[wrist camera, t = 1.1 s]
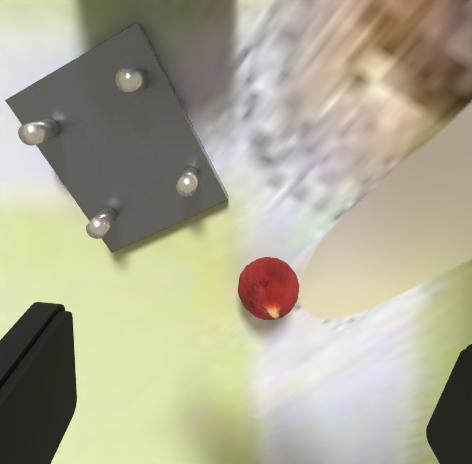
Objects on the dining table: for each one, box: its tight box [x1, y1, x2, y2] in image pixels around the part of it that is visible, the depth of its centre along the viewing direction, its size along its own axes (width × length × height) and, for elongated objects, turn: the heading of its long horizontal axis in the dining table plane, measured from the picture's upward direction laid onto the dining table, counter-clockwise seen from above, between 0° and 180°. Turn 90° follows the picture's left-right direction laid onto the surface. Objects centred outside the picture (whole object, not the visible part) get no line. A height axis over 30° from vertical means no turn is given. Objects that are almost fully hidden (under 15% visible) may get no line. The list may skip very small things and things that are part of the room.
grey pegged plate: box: [5, 23, 228, 252], centre depth 31 cm, size 13×16×5 cm
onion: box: [238, 257, 299, 320], centre depth 35 cm, size 6×6×8 cm
